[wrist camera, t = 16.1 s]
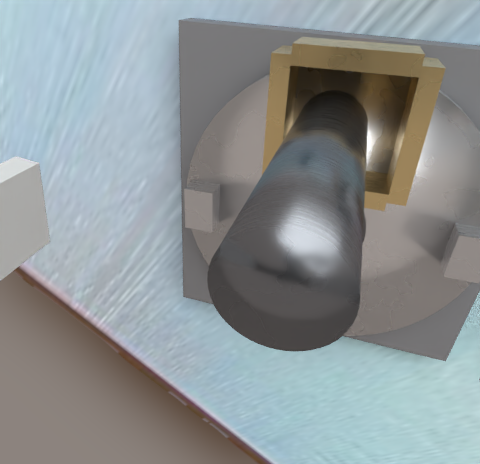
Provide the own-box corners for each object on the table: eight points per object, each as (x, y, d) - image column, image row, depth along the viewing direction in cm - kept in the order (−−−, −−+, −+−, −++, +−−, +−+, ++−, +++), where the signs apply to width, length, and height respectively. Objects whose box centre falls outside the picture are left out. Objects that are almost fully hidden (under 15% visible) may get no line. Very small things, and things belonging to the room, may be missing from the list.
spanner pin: (300, 88, 23) (204, 216, 10) (373, 92, 22) (372, 240, 9) (295, 155, 25) (209, 335, 12) (361, 161, 24) (347, 364, 11)
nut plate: (574, 54, 22) (592, 61, 20) (442, 342, 34) (446, 364, 32) (191, 18, 26) (176, 20, 25) (191, 283, 38) (182, 298, 36)
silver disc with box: (439, 350, 31) (447, 396, 28) (194, 294, 36) (175, 328, 32) (567, 54, 20) (605, 68, 17) (189, 25, 25) (158, 31, 21)
